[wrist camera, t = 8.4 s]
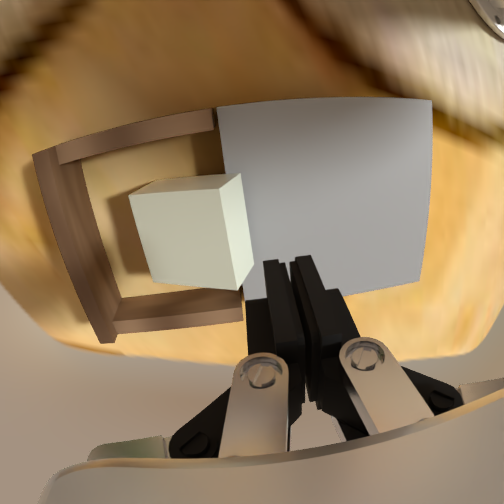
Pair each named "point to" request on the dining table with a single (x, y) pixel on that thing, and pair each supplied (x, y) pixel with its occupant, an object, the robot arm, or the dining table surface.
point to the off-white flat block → (195, 230)
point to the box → (91, 247)
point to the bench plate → (334, 186)
